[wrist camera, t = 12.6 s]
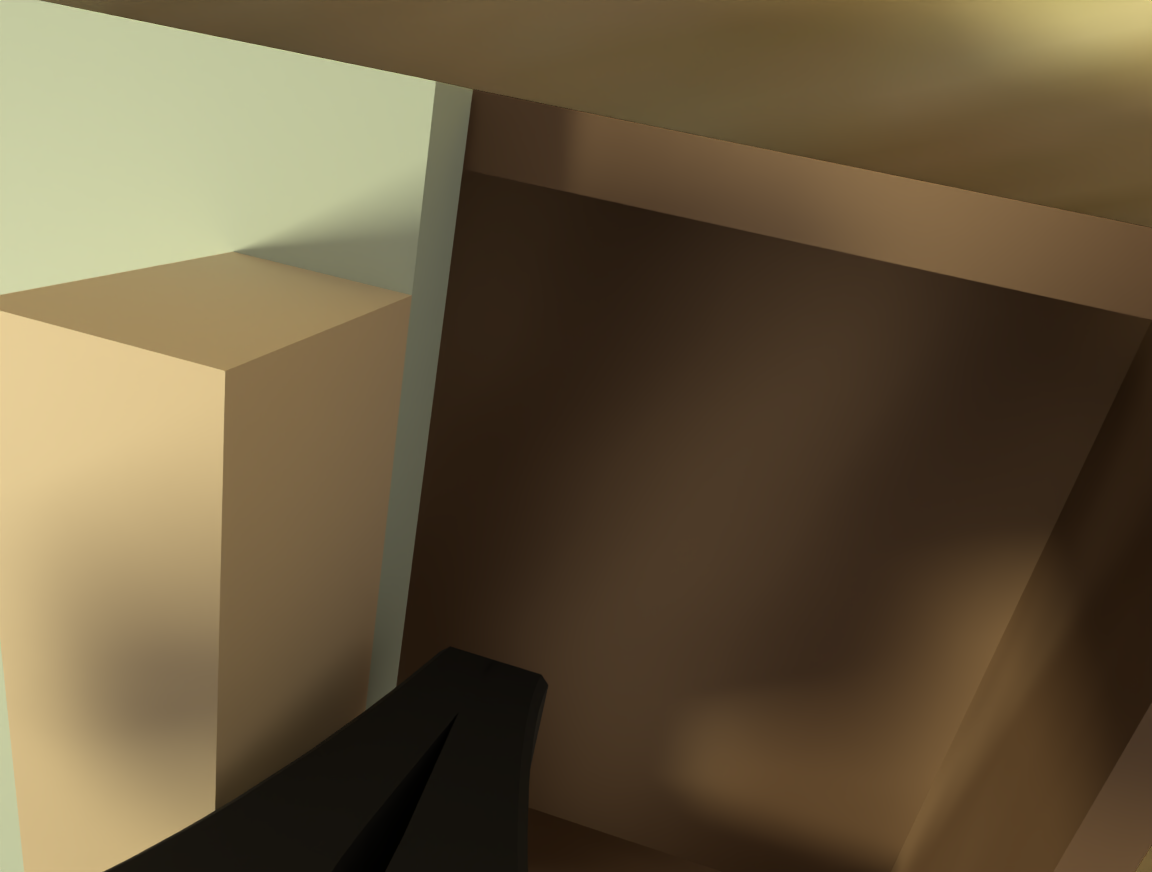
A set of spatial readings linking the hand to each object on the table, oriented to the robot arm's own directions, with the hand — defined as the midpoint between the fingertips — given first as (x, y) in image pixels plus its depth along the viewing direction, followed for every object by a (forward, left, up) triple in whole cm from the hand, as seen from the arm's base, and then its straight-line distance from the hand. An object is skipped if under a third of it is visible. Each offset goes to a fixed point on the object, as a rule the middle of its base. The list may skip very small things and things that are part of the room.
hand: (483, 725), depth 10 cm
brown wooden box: (+1, 0, -6) cm, 6 cm away
